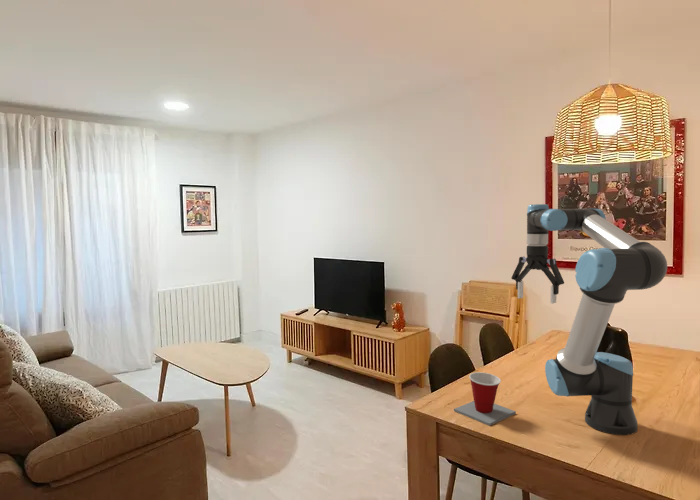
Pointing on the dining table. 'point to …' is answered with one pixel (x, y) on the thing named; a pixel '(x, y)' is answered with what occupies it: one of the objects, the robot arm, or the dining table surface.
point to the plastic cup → (484, 390)
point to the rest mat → (486, 418)
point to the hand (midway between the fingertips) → (536, 300)
